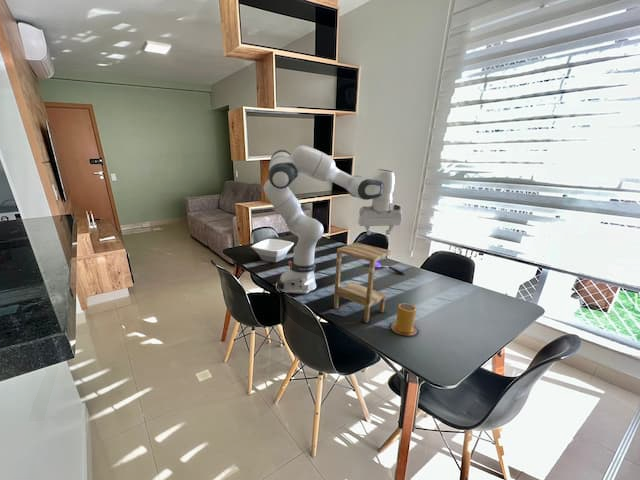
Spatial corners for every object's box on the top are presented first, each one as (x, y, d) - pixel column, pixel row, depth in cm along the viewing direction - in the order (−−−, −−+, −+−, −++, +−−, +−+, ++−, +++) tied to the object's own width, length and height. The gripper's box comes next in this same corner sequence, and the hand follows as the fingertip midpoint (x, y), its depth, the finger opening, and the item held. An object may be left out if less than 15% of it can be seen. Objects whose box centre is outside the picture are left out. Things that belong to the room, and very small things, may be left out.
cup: (399, 333, 116) (403, 311, 112) (392, 324, 122) (395, 303, 118) (415, 332, 116) (419, 310, 112) (407, 323, 122) (411, 302, 119)
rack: (366, 323, 124) (373, 258, 113) (333, 307, 137) (337, 248, 125) (383, 311, 133) (391, 250, 122) (351, 298, 145) (355, 242, 134)
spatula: (406, 273, 174) (407, 269, 173) (400, 276, 170) (401, 272, 169) (373, 262, 191) (373, 259, 191) (366, 265, 188) (367, 261, 187)
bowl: (296, 256, 207) (296, 242, 203) (277, 267, 187) (277, 252, 183) (269, 250, 219) (268, 237, 215) (248, 260, 199) (247, 246, 196)
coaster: (397, 336, 114) (397, 336, 114) (386, 323, 124) (386, 322, 123) (421, 335, 115) (421, 334, 115) (409, 322, 124) (409, 321, 124)
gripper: (362, 207, 132) (359, 236, 137) (405, 206, 133) (401, 235, 138) (357, 205, 137) (355, 233, 143) (399, 204, 138) (395, 232, 144)
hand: (378, 234), depth 140 cm, fingers open, 8 cm apart
